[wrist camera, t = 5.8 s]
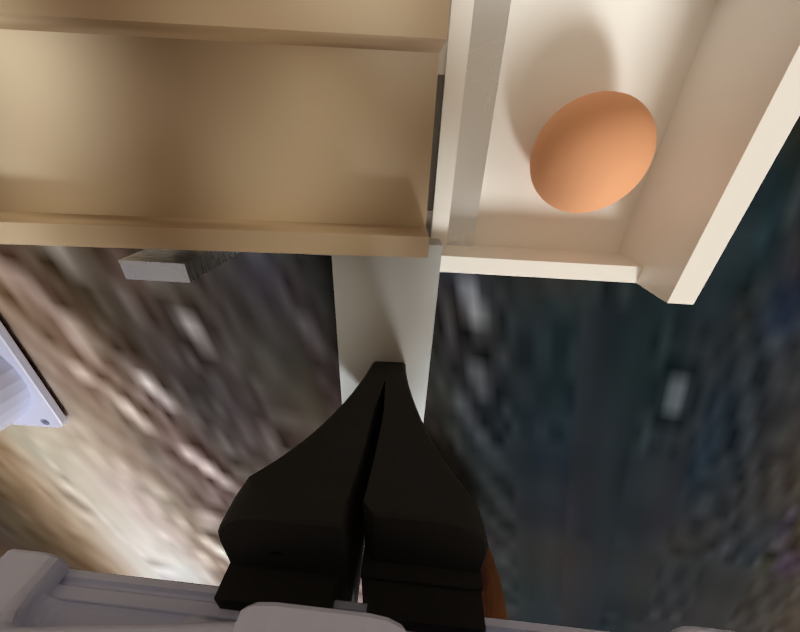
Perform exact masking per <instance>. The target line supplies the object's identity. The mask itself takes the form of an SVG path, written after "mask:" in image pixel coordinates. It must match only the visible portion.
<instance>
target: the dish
mask: <svg viewBox="0 0 800 632" xmlns="http://www.w3.org/2000/svg"><path fill="white" fill-rule="evenodd" d="M473 7H474V0H451V3H450V15H449V26H448V38H447V49H446V61H445V72H444V75H445V77H444V89H443V100H442V111H441V123H440V134H439V146H438V157H437V168H436V180H435V191H434V203H433V211H432V222H431V233H430V238H434V239H440V241H441V243H442V255H441V264H440V272H454V273H471V274H489V275H507V276H524V277H542V278H559V279H577V280H594V281H612V282H629V283H637V284H639V285H640V286H642V287H643V288H645V289H646V290H648V291H649V292H651V293H652V294H654V295H656V296H657V297H659V298H660V299H662V300H663V301H665V302H666V303H676V304H694V302H695V301H696V299H697V297H698V295H699V294H700V292H701V290H702V288H703V286H704V285H705V283H706V281H707V279H708V278H709V276H710V274H711V272H712V270H713V269H714V267H715V265H716V263H717V261H718V260H719V258H720V256H721V254H722V253H723V251H724V249H725V247H726V245H727V244H728V242H729V240H730V238H731V237H732V235H733V233H734V231H735V229H736V228H737V226H738V224H739V222H740V221H741V219H742V217H743V215H744V213H745V212H746V210H747V208H748V206H749V205H750V203H751V201H752V199H753V197H754V196H755V194H756V192H757V190H758V188H759V187H760V185H761V183H762V181H763V180H764V178H765V176H766V174H767V172H768V171H769V169H770V167H771V165H772V164H773V162H774V160H775V158H776V156H777V155H778V153H779V151H780V149H781V148H782V146H783V144H784V142H785V140H786V139H787V137H788V135H789V133H790V132H791V130H792V128H793V126H794V124H795V123H796V121H797V119H798V117H799V115H800V0H511V6H510V12H509V18H508V25H507V31H506V38H505V44H504V50H503V57H502V63H501V70H500V76H499V82H498V89H497V95H496V101H495V108H494V114H493V121H492V127H491V133H490V140H489V146H488V153H487V159H486V165H485V172H484V178H483V185H482V191H481V197H480V204H479V210H478V216H477V223H476V229H475V236H474V242H473V246H457V245H446V244H447V235H448V227H449V218H450V209H451V200H452V192H453V183H454V174H455V165H456V156H457V148H458V139H459V130H460V121H461V113H462V104H463V95H464V86H465V78H466V69H467V60H468V51H469V42H470V34H471V25H472V16H473ZM600 91H616V92H622V93H626V94H628V95H631V96H633V97H635V98H637V99H638V100H639V101H641V102H642V103H643V104H644V105H645V106H646V108H647V109H648V110H649V111H650V113H651V115H652V117H653V119H654V122H655V125H656V132H657V144H656V149H655V153H654V157H653V160H652V162H651V164H650V166H649V169H648V170H647V172H646V173H645V175H644V177H643V178H642V179H641V181H640V182H639V183H638V184H637V185H636V186H635V187H634V188H633V189H632V190H631V191H630V192H629V193H628V194H627V195H625V196H624V197H623V198H621V199H620V200H618V201H617V202H615V203H613V204H611V205H609V206H607V207H605V208H602V209H599V210H596V211H591V212H585V213H571V212H565V211H561V210H559V209H556V208H554V207H552V206H550V205H549V204H547V203H546V202H545V201H544V200H543V199H542V198H541V197H540V196H539V194H538V193H537V192H536V190H535V188H534V186H533V183H532V180H531V175H530V158H531V152H532V149H533V146H534V143H535V141H536V138H537V137H538V135H539V133H540V131H541V130H542V128H543V127H544V125H545V124H546V123H547V121H548V120H549V119H550V118H551V117H552V116H553V115H554V114H555V113H556V112H557V111H559V110H560V109H561V108H562V107H563V106H565V105H566V104H568V103H569V102H571V101H573V100H575V99H577V98H579V97H582V96H584V95H587V94H590V93H594V92H600Z"/></svg>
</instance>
